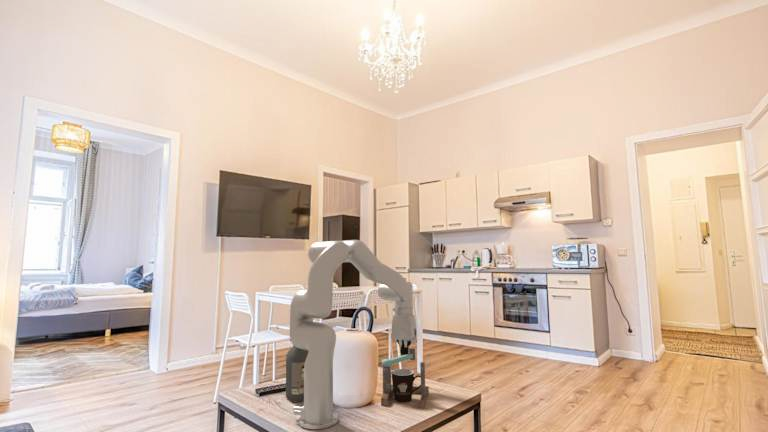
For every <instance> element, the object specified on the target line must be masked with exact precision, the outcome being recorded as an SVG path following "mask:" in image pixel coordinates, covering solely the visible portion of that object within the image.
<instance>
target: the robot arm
mask: <svg viewBox="0 0 768 432" xmlns="http://www.w3.org/2000/svg"><path fill="white" fill-rule="evenodd" d="M307 255H308V259H309V261H310V262H311V263H312V264H311V267H310V268H309V272H308V276H307V277H308V278H307V286H306V289H305V288H304V289H300V290H299V291H297V292H296V293H295V294H294V295H293V297H292V299H291V302H290V307H289V311H290V312H289V339H290V343H291V344H292V345H294V346H295V347H297V348H299V349H303V350H307V351H308V355H307V358H306V360H305V364H304V401H303V406H301V405H300V406H297V405H295V406H293V408H292V411H293V413H292V415H296V416H300V417H299V419H298V425H299V426H300V427H301V428H303V429H307V430H322V429H327V428H330V427H332V426H334V425H336V424H337V423H338V420H339V419H338V418H339V416H338V415H337V413H335V412H334V354H335V348H336V342H337V334H336V331H335V329H334V328H333V327H332V326H331V325H329V324H327V323H325V322H318V321H314V319H317V320H318V319H319V320H320V319H323V320H324V319H326V318H328V317H329V316H330V315H331V313H332V311H333V310H332V309H333V297H334V296H333V290H334V287H333V286H334V285H333V284H334V276H335V273H336V271H337V269H338V268H339V267H340V266H341V265H342V264H343V263H351V264H352V265H353V267H355V268H356V269H357V271H358V272H360V274H361V275H362V276H363V277H364V278H365V279H367V280H369V281H371V282H374V283H377V284H380V285H379V286H378V288H377V295H378V297H379V298H380V299H381V300H383V301H389V302H390V301H391V302H394V308H392V311H393V312H394V314H393V315H392V319H391V328H390V329H391V330H390V331H391V332H390V336H391V338H392V341H393V342H395V343H397V344H398V346H399V347H400V356H402V355H406V354H409V349H410V348H409V347H410V346H411V345H413V344H415V343H417V335H418V332H417V322H416V321H417V320H416V316H415V314H414V303H413V302H414V301H413V299H414V298H413V292H414V291H413V283H412V282H410V281H407V280H406V279H405V277H404V276H403V275H402V274H400V273H399V272H398V271H396V270H395V269H393V268H391V267H389V265H386V264H384V263H383V262H381V261H380V259H378V258H377V257H376V255H375V254H374V253H373V252H372V251H371V249H370V248H369V247H368V246H367V244H365V242H363V241H362V240H359V239H346V240H328V241H326V240H325V241H316V242H314V243H313V244H311V245H310V247H309V249H308V253H307Z"/></svg>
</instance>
